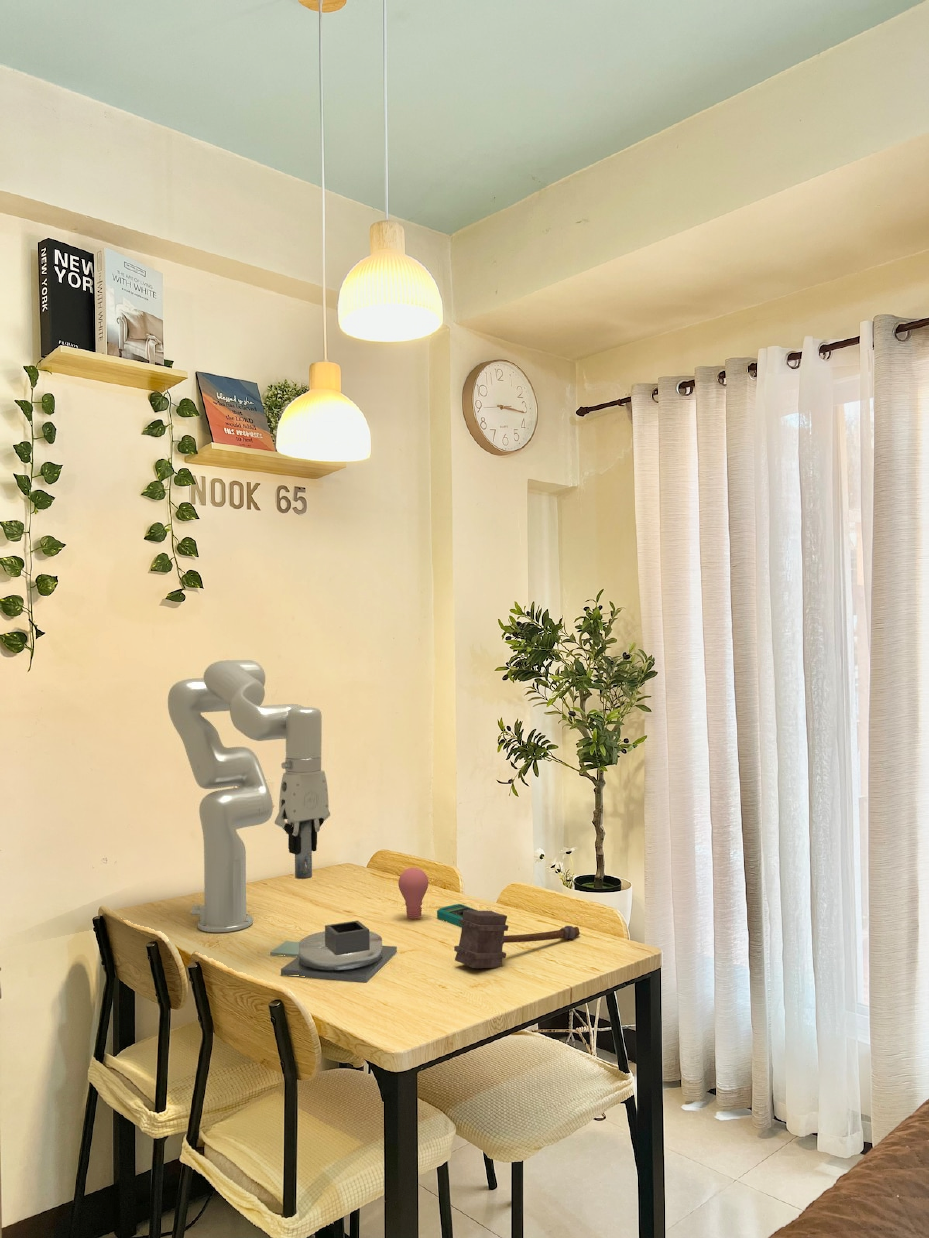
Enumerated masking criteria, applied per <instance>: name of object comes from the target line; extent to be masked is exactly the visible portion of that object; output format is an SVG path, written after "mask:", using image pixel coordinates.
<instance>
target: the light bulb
mask: <svg viewBox="0 0 929 1238" xmlns="http://www.w3.org/2000/svg"><path fill="white" fill-rule="evenodd" d="M428 887H429V878H428V876H427V874H426V873H425V871H423V870H422V869H421V868H418V867H409V868H407V869H405V870H404V871H402V873H401V874H400V876H399V877H398V889H399V891H400V894H401V895H402V898H403V899H404V901H405V902H404V905H405V906H406V909H405V911H406V917H407V918H411V919H413V918H415V919H417V918H420V917H422V911H423V910H422V905H423V899H424V897H425V895H426V893H427V891H428Z"/></svg>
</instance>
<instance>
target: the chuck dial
mask: <svg viewBox="0 0 929 1238" xmlns="http://www.w3.org/2000/svg"><path fill="white" fill-rule="evenodd" d="M298 942H299V961H300V963H302V964H303V965H305V966H307V967H311V968H315V969H322V970H345V969H353V968H358V967H362V966H366V965H369V964H371V963H374V962H376V961H377V960H379V959H380V958H381V956H382V946H383V937H381V935H380V934H377V933H376V932H373V931H371V930H370V929H369V927H367V926H365V924H363V923H362V922H360V921H359V920H353V921H345V922H339V923H333V924H327V925H324V931H320V932H319V931H318V932H316V933H313V934H310V935H307V936H306V937H304V938H301V940H300V941H298Z"/></svg>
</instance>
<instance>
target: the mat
mask: <svg viewBox="0 0 929 1238" xmlns="http://www.w3.org/2000/svg"><path fill="white" fill-rule="evenodd" d="M299 942H300V941H290V940H285V941H283V943H281V944H279V945H278V946H277V947H275V948H274V949H272V950H271V951H270V952H269V956H275V955H283V956H282V957H288V956H297V957H298V956H299ZM284 955H285V956H284Z"/></svg>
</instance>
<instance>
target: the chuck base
mask: <svg viewBox="0 0 929 1238" xmlns="http://www.w3.org/2000/svg"><path fill="white" fill-rule="evenodd" d="M396 952H397V953H398V946H394V945H393V946H392V945H382V956H381V958H380V959H379V960H377V961H376V962H374V963H371V964H369V965H366V966H362V967H358V968H353V969H345V970H322V969H315V968H311V967H307V966H305V965H303V964H302V963H300V961H299V956H298V957H294V959H292V960H291V961H290V962H289V963H287V964H286V965H284V966H283V967H282V968H281V969H280V976H282V975H299V976H305V977H304V978H306V977H312V978H311V979H318V978H320V979H319V980H330V979H334V980H333V981H342V982H343V981H345V982H357V983H367V982H368V981H369V980H371V979H372V977H373V976H374V975H375V974H377V973H378V972H379V970H380V969H382V968H383V967H384V966H386V965H385V963H386V962H387V961H388V960H389V959H390V958H391V957H392V956H393V955H394V956H395V955H396V954H397V953H396ZM395 953H396V954H395ZM394 956H393V957H394ZM393 957H392V958H393ZM392 958H391V959H392ZM391 959H390V960H391ZM390 960H389V961H390ZM389 961H388V962H389ZM388 962H387V963H388ZM387 963H386V964H387Z"/></svg>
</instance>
